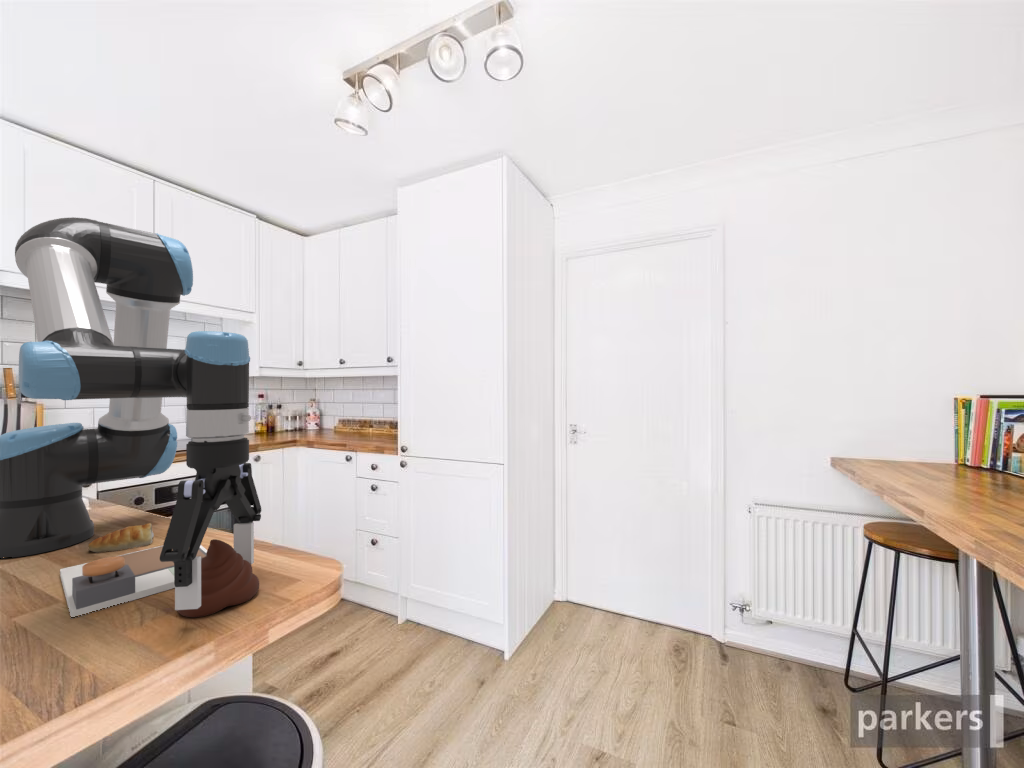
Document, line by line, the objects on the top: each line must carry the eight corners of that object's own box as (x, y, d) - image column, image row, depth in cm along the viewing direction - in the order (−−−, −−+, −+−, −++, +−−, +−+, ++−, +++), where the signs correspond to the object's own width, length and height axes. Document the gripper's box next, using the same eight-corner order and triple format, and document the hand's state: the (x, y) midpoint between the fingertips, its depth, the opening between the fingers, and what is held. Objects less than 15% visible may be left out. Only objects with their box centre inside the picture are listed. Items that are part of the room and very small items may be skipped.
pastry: (86, 558, 76) (86, 537, 76) (90, 548, 81) (90, 528, 81) (154, 545, 82) (154, 526, 83) (153, 536, 88) (153, 518, 88)
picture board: (59, 575, 69) (60, 554, 69) (193, 543, 83) (193, 525, 83) (71, 618, 56) (71, 592, 56) (226, 572, 70) (226, 551, 70)
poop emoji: (184, 628, 54) (185, 556, 54) (168, 605, 60) (168, 540, 60) (268, 598, 62) (268, 535, 62) (247, 580, 68) (247, 522, 68)
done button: (80, 586, 61) (80, 563, 61) (121, 576, 64) (121, 553, 64) (84, 596, 58) (84, 572, 58) (126, 584, 61) (126, 561, 61)
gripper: (190, 450, 49) (190, 631, 49) (283, 429, 74) (283, 549, 74) (120, 451, 48) (120, 636, 48) (238, 429, 73) (238, 551, 73)
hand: (219, 583), depth 61 cm, fingers open, 13 cm apart
